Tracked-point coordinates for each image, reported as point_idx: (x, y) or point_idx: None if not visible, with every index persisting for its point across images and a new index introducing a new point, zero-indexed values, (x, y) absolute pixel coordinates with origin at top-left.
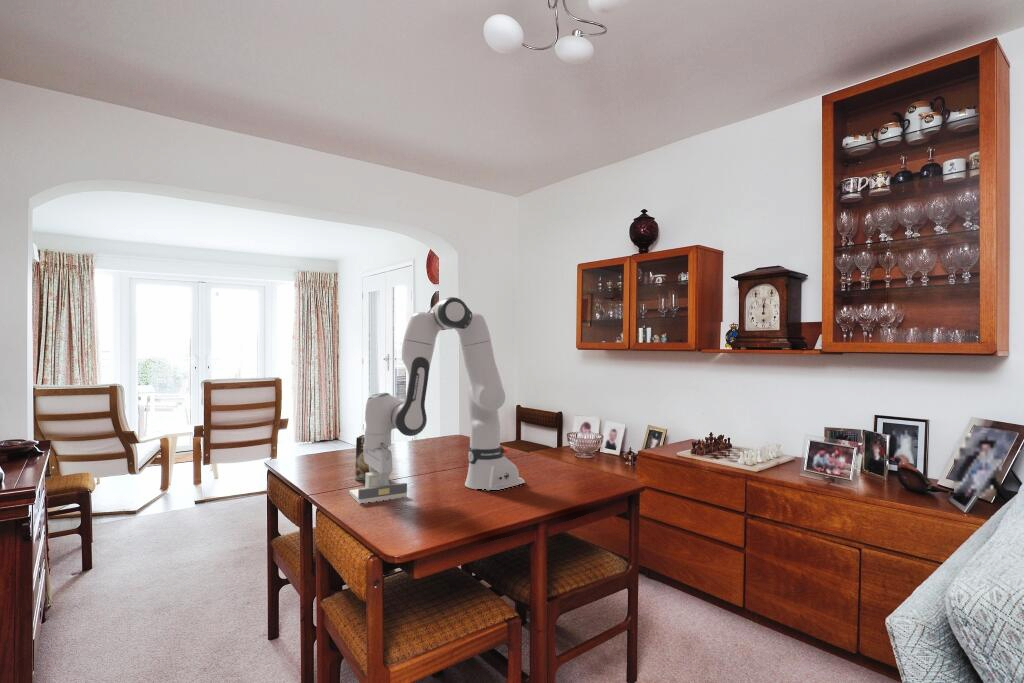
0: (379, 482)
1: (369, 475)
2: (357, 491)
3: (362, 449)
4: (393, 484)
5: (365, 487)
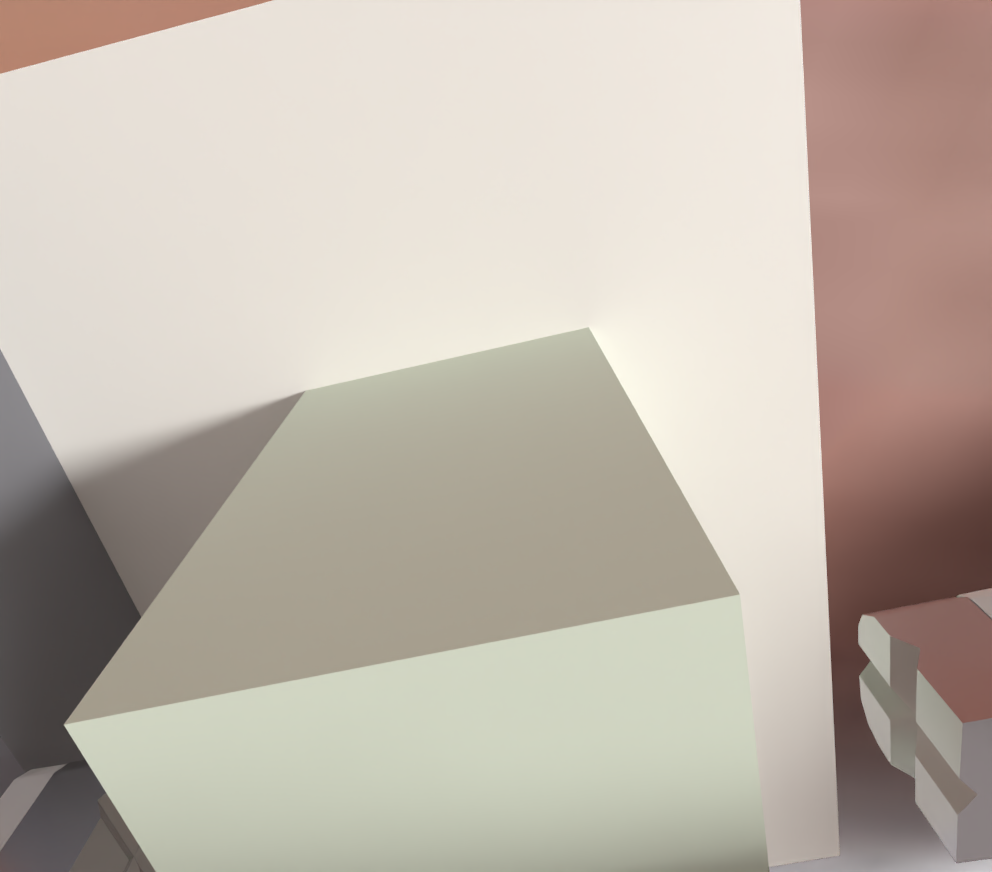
0: (14, 821)
1: (89, 745)
2: (562, 123)
3: None
4: (816, 838)
5: (574, 357)
